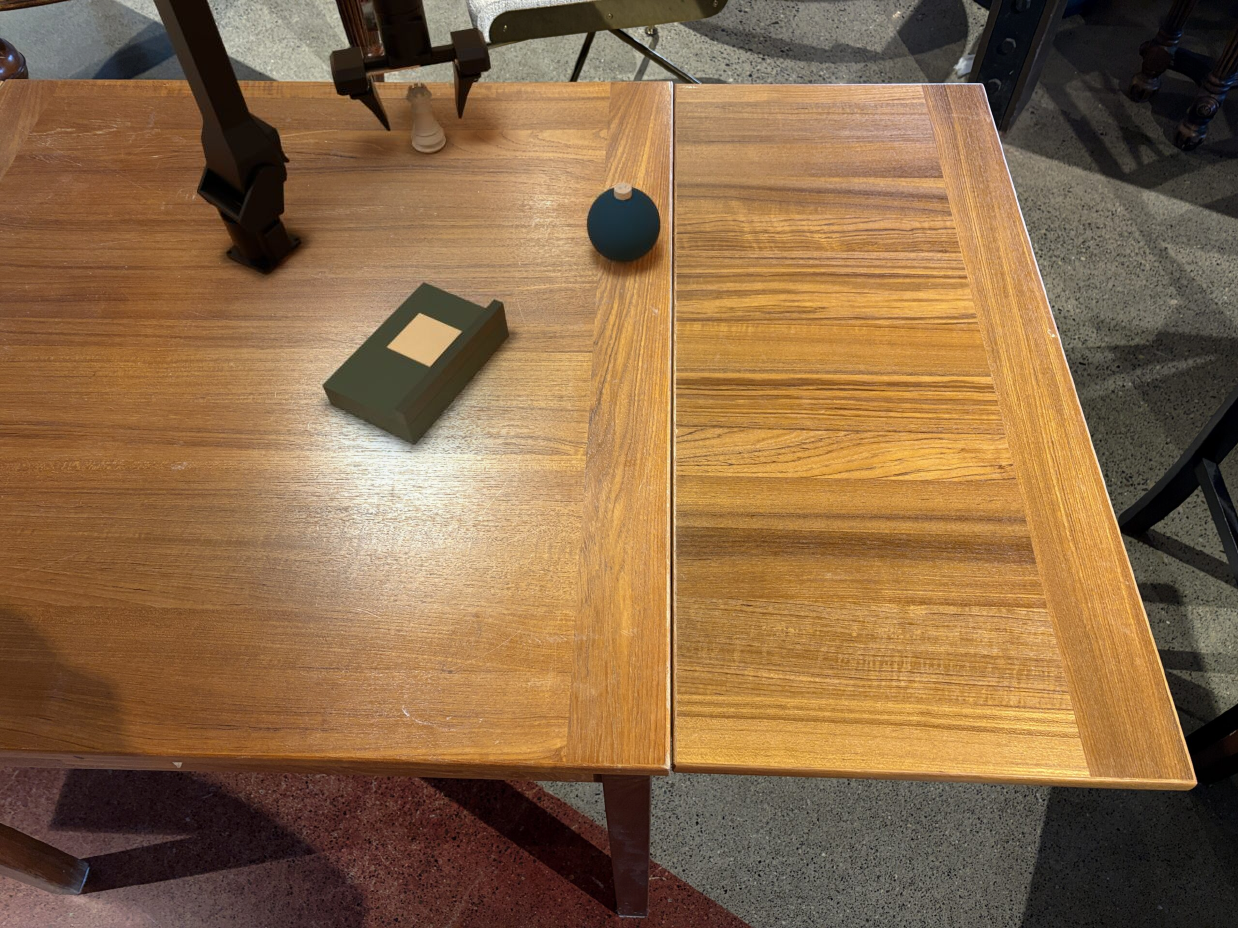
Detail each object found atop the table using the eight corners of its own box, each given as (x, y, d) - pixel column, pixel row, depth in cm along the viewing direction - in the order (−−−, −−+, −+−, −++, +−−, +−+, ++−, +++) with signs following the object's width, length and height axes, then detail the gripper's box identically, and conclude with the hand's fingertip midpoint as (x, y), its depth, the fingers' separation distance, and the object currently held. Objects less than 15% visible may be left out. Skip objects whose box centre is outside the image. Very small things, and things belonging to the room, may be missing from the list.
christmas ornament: (642, 221, 108) (642, 150, 100) (671, 265, 104) (674, 194, 95) (577, 241, 106) (572, 170, 98) (605, 286, 102) (601, 216, 94)
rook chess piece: (413, 135, 119) (400, 80, 113) (447, 133, 119) (435, 77, 113) (411, 156, 117) (398, 100, 110) (446, 153, 117) (434, 98, 110)
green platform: (330, 403, 93) (315, 372, 89) (428, 301, 101) (419, 268, 97) (414, 445, 89) (403, 414, 85) (509, 335, 98) (503, 302, 94)
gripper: (466, -43, 108) (484, 77, 121) (310, -19, 106) (346, 100, 119) (482, 3, 102) (500, 124, 115) (317, 29, 100) (354, 150, 112)
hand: (424, 123), depth 115 cm, fingers open, 9 cm apart
